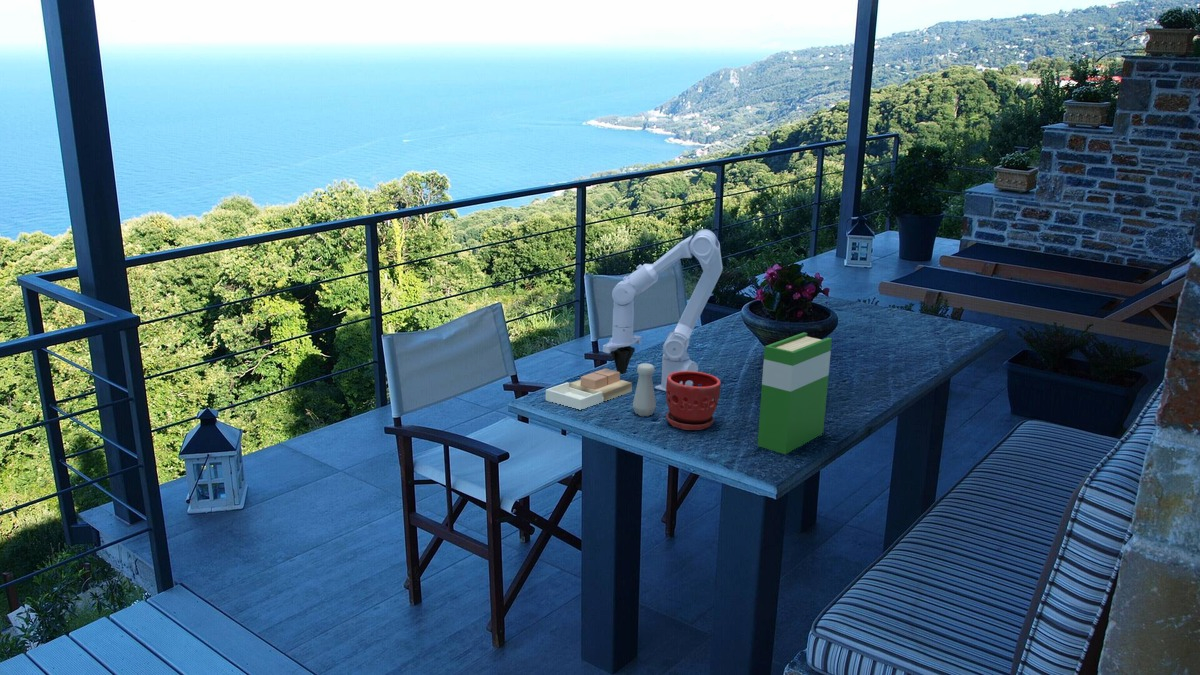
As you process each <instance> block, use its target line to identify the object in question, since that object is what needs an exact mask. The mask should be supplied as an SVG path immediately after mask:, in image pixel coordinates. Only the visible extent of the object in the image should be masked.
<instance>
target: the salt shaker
mask: <svg viewBox="0 0 1200 675" xmlns="http://www.w3.org/2000/svg"><path fill="white" fill-rule="evenodd" d="M655 369H656V368H655V366H654V365H653V364H651V363H646V362H645V363H644V362H643V363H640V364H638V365H637V368H636V373H637V374H638V379H637V384H636V387H635V393H634V397H633V402H632V408H633V411H634V413H635V415H637V414H638V415H640V416H639V417H644V416H647V417H650V416H649V415H651V416H653V414H654V411H655V409H656V406H657V404H656V397H655V391H654V390H655V388H654V384H653V383H654V382H653V375H655V374H654V373H655V371H656V370H655ZM638 415H637V416H638Z"/></svg>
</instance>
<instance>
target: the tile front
mask: <svg viewBox="0 0 1200 675" xmlns="http://www.w3.org/2000/svg"><path fill="white" fill-rule="evenodd" d="M580 380H581V386H583V387H587V388H590V389H594V390H596V389H599V388H601V387H604V386H607V376H603V375H600V374H596V373H594V372H590V373H588V374H585V375H582V376H580Z"/></svg>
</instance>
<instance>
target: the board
mask: <svg viewBox="0 0 1200 675" xmlns="http://www.w3.org/2000/svg"><path fill="white" fill-rule="evenodd" d="M568 383H569V387H570V388H574V389H577V390H581V391H584V392H588V393H591V394H595V393H598V392H602V397H604V401H606V402H608V401H607V400H609V401H611V400H614V399H617V398H619V397H621V395H622V396H623V395H626V394H629V393H632V392H633V382H630V381H626V380H624V379H620V381H618V382H615V383H612V384H610V385H607V386H604V387H601V388H599V389H596V390H594V389H590V388H587V387H583V386H581V379H578V380H575V381H572V382H568ZM618 396H619V397H618ZM613 398H614V399H613ZM610 399H611V400H610Z"/></svg>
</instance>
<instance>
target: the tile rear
mask: <svg viewBox="0 0 1200 675" xmlns="http://www.w3.org/2000/svg"><path fill="white" fill-rule="evenodd" d="M593 373H596V374H600V375H603V376H607V385H610V384H612V383H615V382H618V381H620V380H621V376H620V375H621V374H620V372H618V371H617V370H613V369H609V368H603V369H600V370H596V371H594V372H593Z"/></svg>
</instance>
